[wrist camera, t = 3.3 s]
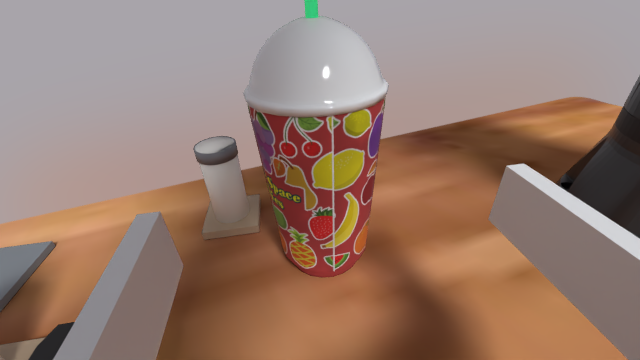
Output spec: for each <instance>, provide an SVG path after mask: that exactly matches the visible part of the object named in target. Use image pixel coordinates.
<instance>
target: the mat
mask: <svg viewBox="0 0 640 360" xmlns="http://www.w3.org/2000/svg"><path fill="white" fill-rule="evenodd" d="M54 247H55V245H54V243H53V242H52V241H50V242H42V243H35V244H27V245H20V246H13V247H5V248H0V312H1V311H2V309H3V308H4V307H5V306H6V305H7V303H8V302H9V301H10V300H11V299H12V297H13V296H14V295H15V294H16V293H17V291H18V290H19V289H20V288H21V287H22V285H23V284H24V283H25V282H26V281H27V280H28V278H29V277H30V276H31V275H32V274H33V272H34V271H35V270H36V269H37V268H38V266H39V265H40V264H41V263H42V262H43V260H44V259H45V258H46V257H47V256H48V254H49V253H50V252H51V251H52V250H53V248H54Z"/></svg>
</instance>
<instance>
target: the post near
mask: <svg viewBox="0 0 640 360" xmlns="http://www.w3.org/2000/svg"><path fill="white" fill-rule="evenodd" d="M45 338H46V337H45ZM45 338H39V339H33V340H27V341H21V342H15V343H9V344H3V345H0V360H28V359H29V358H30V356H31V354H32V353H33V351H34V350H35V348H36V347H37V345H38V344H39V343H40V342H42V341H43V340H44V339H45Z"/></svg>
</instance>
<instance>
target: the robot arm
mask: <svg viewBox="0 0 640 360" xmlns="http://www.w3.org/2000/svg"><path fill="white" fill-rule="evenodd" d="M488 220H489V221H490V222H491V223H492V224H493V225H494V226H495V227H496V228H497V229H498V230H499V231H500V232H501V233H502V234H503V235H504V236H505V237H506V238H507V239H508V240H509V241H510V242H511V243H512V244H513V245H514V246H515V247H516V248H517V249H518V250H519V251H520V252H521V253H522V254H523V255H524V256H525V257H526V258H527V259H528V260H529V261H530V262H531V263H532V264H533V265H534V266H535V267H536V268H537V269H538V270H539V271H540V272H541V273H542V274H543V275H544V276H545V277H546V278H547V279H548V280H549V281H550V282H551V283H552V284H553V285H554V286H555V287H556V288H557V289H558V290H559V291H560V292H561V293H562V294H563V295H564V296H565V297H566V298H567V299H568V300H569V301H570V302H571V303H572V304H573V305H574V306H575V307H576V308H577V309H578V310H579V311H580V312H581V313H582V314H583V315H584V316H585V317H586V318H587V319H588V320H589V321H590V322H591V323H592V324H593V325H594V326H595V327H596V328H597V329H598V330H599V331H600V332H601V333H602V334H603V335H604V336H605V337H606V338H607V339H608V340H609V341H610V342H611V343H612V344H613V345H614V346H615V347H616V348H617V349H618V350H619V351H620V352H621V353H622V354H623V355H624V356H625V357H626V358H627V359H628V360H640V76H639V78H638V80H637V81H636V83H635V85H634V87H633V89H632V91H631V93H630V95H629V96H628V98H627V100H626V102H625V104H624V106H623V108H622V110H621V112H620V114H619V116H618V118H617V120H616V121H615V123H614V125H613V127H612V129H611V130H610V131H609V132H608V134H607V135H605V136H604V137H603V138H602V139H601V140H600V141H599V142H598V143H597V144H596V145H595V146H594V147H593V148H592V149H591V150H590V151H589V152H588V153H587V154H585V155H584V156H583V157H582V158H581V159H580V160H579V161H578V162H577V163H576V164H575V165H574V166H573V167H572V168H571V169H570V170H568V171H567V172H566V173H565V174H564V175H563V176H562V177H561V178H560V179H559V181H558V182H557V184H555V183H553V182H552V181H550V180H549V179H547V178H546V177H544V176H542V175H541V174H539V173H538V172H536V171H535V170H533V169H532V168H530V167H529V166H527V165H525V164H516V165H509V166H506V168H505V171H504V174H503V177H502V180H501V183H500V186H499V189H498V192H497V195H496V198H495V201H494V204H493V207H492V210H491V213H490V216H489V219H488ZM183 267H184V265H183V263H182V261H181V258H180V256H179V254H178V251H177V249H176V247H175V245H174V242H173V240H172V238H171V235H170V233H169V231H168V229H167V226H166V224H165V222H164V219H163V217H162V215H161V213H160V212H153V213H146V214H138V215H136V217H135V219H134V221H133V222H132V224H131V226H130V227H129V229H128V231H127V233H126V234H125V236H124V238H123V240H122V241H121V243H120V245H119V246H118V248H117V250H116V252H115V253H114V255H113V257H112V259H111V260H110V262H109V264H108V266H107V267H106V269H105V271H104V272H103V274H102V276H101V278H100V279H99V281H98V283H97V285H96V286H95V288H94V290H93V291H92V293H91V295H90V297H89V298H88V300H87V302H86V304H85V305H84V307H83V309H82V310H81V312H80V314H79V316H78V317H77V319H76V321H75V322H72V323H66V324H60V325H58V326H57V327H56V328H55V329H54V330H53V331H52V332H51V333H50V334H49V335H48V336H47V337H46V338H45V339H44V340H43V341H42V342H40V343H39V344H38V345H37V347H36V348H35V350H34V351H33V353H32V354H31V356H30V358H29V359H28V360H156V358H157V354H158V351H159V348H160V344H161V341H162V337H163V334H164V331H165V327H166V324H167V321H168V317H169V314H170V310H171V307H172V304H173V300H174V297H175V294H176V290H177V287H178V283H179V280H180V277H181V273H182V270H183Z"/></svg>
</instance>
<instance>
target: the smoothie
mask: <svg viewBox="0 0 640 360" xmlns="http://www.w3.org/2000/svg"><path fill="white" fill-rule="evenodd" d="M305 14H306V17H301V18H298V19H295V20H293V21H291V22H289V23H288V24H286V25H284V26H282V27H281V28H280V29H278V30H277V31H276V32H275V33H274V34H273V35H272V36H271V37H270V38H269V39H268V40H267V41H266V42H265V44H264V45H263V47H262V48H261V50H260V51H259V53H258V55H257V57H256V60H255V62H254V65H253V68H252V72H251V76H250V81H249V85H248V86H247V88H246V89H245V91H244V93H243V94H244V97H245V100H246V102H247V104H248V109H249V114H250V118H251V122H252V126H253V130H254V133H255V138H256V142H257V146H258V150H259V154H260V158H261V162H262V166H263V170H264V174H265V178H266V182H267V186H268V190H269V194H270V198H271V202H272V206H273V210H274V214H275V218H276V222H277V226H278V230H279V234H280V238H281V242H282V246H283V249H284V252H285V254H286V256H287V257H288V258H289V259H290V260H291V261H292V262H293V263H294V264H295V265H296V266H297V267H298V268H299V269H300V270H301V271H303V272H305V273H307V274H309V275H311V276H316V277H334V276H336V275H339V274H342V273H344V272H346V271H347V270H349V269H350V268H351V267H353V265H354V264H355V262H356V261H357V260H358V259H359V258H360V256H361V255H362V253H363V252H364V250H365V246H366V241H367V233H368V226H369V218H370V211H371V203H372V196H373V188H374V181H375V173H376V166H377V159H378V151H379V144H380V136H381V129H382V120H383V114H384V106H385V97H386V94H387V91H388V87H389V85H388V83H387V82H386V81H385V80H384V78H382V75H381V72H380V69H379V66H378V63H377V61H376V58H375V56H374V54H373V53H372V51H371V49H370V48H369V46H368V45H367V43H366V42H365V41H364V40H363V39H362V38H361V36H360V35H359V34H357V33H356V32H355V31H354V30H353V29H351V28H350V27H348V26H347V25H345V24H343V23H341V22H339V21H337V20H334V19H331V18H328V17H324V16H318V4H317V0H305Z"/></svg>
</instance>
